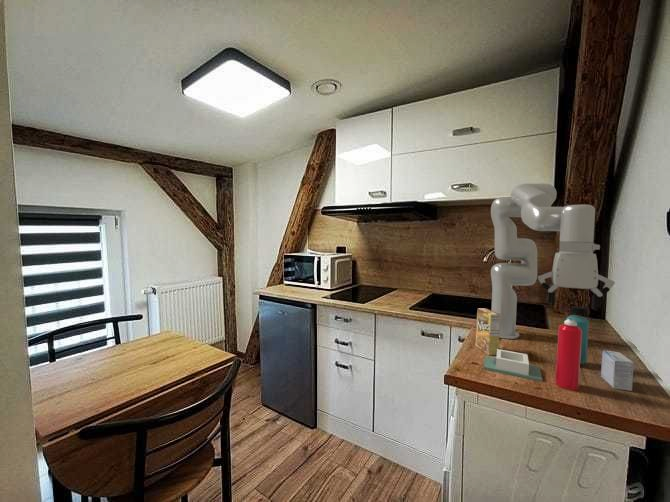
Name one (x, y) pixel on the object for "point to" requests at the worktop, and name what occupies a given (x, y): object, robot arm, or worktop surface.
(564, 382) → the bottle
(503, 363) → the board
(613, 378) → the medicine box
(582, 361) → the beverage bottle
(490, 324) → the candy box
